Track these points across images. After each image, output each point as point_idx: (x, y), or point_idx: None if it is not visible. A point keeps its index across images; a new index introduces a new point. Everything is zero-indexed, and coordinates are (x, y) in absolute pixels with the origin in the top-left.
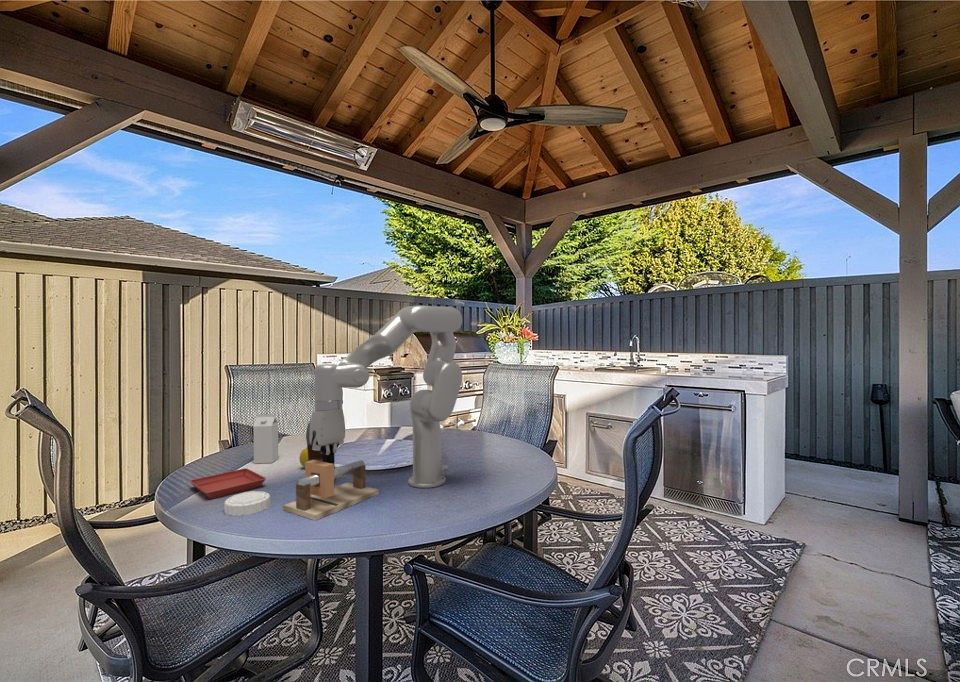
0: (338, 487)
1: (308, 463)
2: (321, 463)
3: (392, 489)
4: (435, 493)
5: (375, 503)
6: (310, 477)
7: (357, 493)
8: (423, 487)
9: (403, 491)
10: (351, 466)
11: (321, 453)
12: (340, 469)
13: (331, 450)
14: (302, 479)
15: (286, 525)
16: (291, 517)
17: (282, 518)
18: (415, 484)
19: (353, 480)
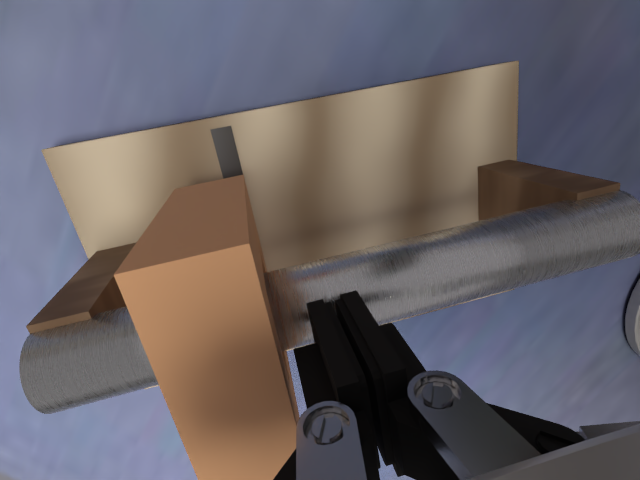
0: (429, 106)
1: (140, 329)
2: (241, 437)
3: None
4: (599, 403)
5: (421, 358)
6: (132, 386)
7: None
8: (629, 343)
9: (570, 318)
10: (517, 286)
11: (301, 425)
12: (419, 313)
13: (422, 476)
14: (50, 404)
15: (19, 343)
16: (69, 270)
17: (22, 251)
18: (634, 321)
19: (501, 176)
